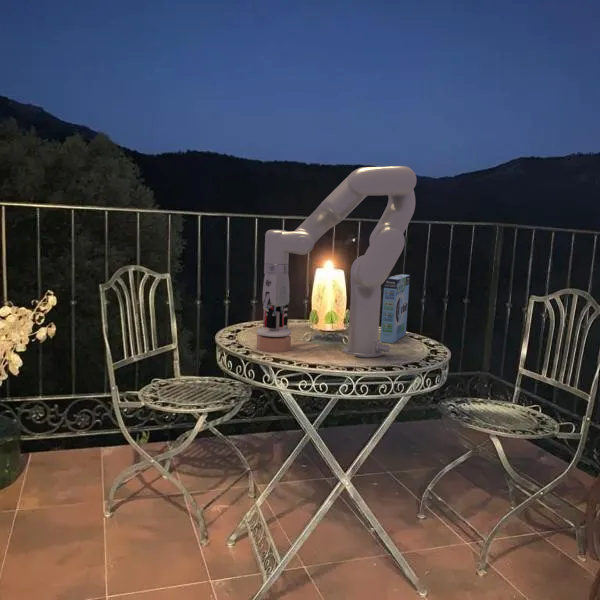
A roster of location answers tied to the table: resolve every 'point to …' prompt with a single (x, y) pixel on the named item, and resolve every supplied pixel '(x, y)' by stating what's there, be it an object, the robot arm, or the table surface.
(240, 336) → the table surface
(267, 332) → the lid
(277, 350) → the bowl
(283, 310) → the soda can
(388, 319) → the gum box
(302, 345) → the mat
